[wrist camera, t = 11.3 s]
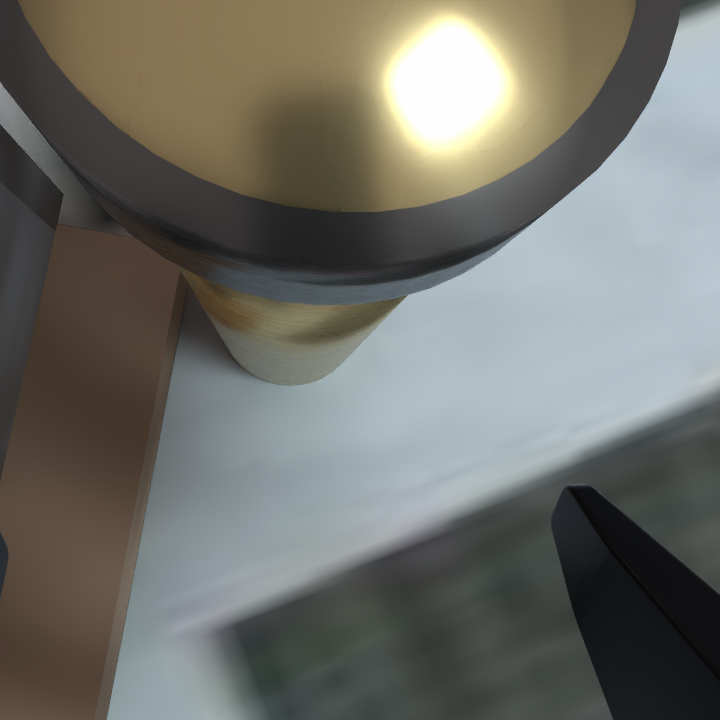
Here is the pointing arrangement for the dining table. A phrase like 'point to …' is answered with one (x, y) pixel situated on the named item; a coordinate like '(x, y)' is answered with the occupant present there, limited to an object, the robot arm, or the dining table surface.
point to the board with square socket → (73, 439)
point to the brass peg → (329, 140)
